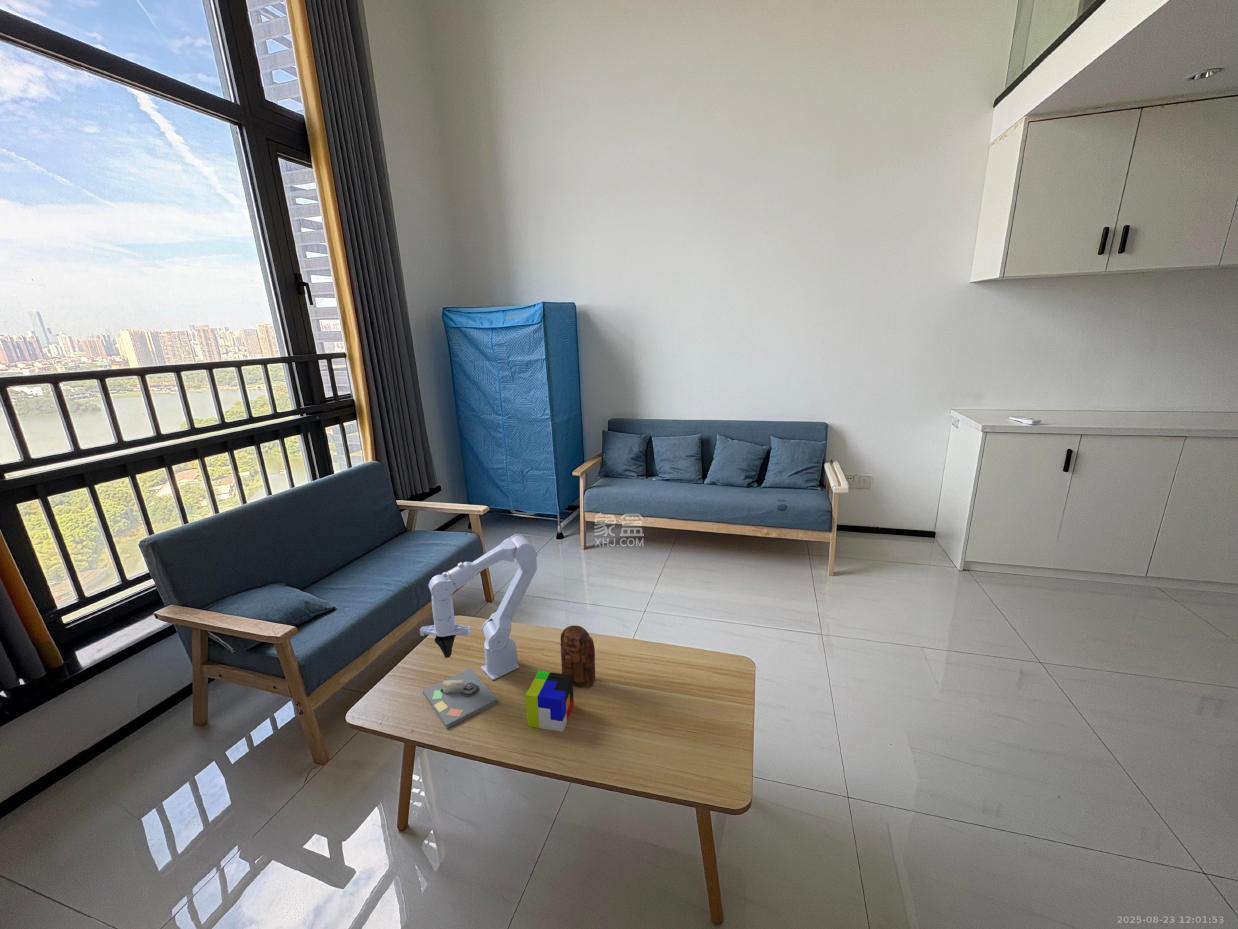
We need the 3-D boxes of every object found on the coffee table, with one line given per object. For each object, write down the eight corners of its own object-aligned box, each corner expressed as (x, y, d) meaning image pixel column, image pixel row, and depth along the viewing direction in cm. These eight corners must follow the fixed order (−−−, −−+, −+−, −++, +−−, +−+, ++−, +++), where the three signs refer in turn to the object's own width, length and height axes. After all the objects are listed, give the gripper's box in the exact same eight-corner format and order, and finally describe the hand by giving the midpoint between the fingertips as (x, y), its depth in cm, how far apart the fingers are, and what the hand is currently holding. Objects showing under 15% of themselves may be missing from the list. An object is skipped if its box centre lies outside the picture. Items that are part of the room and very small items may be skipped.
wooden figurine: (555, 683, 149) (553, 631, 145) (564, 670, 155) (561, 619, 150) (592, 691, 145) (590, 637, 141) (599, 677, 151) (598, 625, 147)
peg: (478, 685, 147) (477, 676, 146) (475, 694, 143) (474, 685, 142) (442, 687, 146) (441, 677, 145) (438, 696, 142) (437, 687, 141)
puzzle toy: (563, 732, 130) (561, 700, 128) (527, 726, 132) (525, 695, 130) (573, 705, 140) (572, 675, 138) (540, 700, 142) (538, 670, 140)
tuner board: (471, 671, 155) (470, 668, 154) (497, 702, 141) (497, 698, 141) (423, 693, 145) (422, 689, 145) (446, 728, 132) (446, 724, 132)
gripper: (472, 608, 147) (476, 647, 150) (424, 607, 148) (429, 647, 151) (464, 621, 140) (468, 662, 144) (414, 620, 141) (420, 661, 144)
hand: (448, 655), depth 147 cm, fingers closed
